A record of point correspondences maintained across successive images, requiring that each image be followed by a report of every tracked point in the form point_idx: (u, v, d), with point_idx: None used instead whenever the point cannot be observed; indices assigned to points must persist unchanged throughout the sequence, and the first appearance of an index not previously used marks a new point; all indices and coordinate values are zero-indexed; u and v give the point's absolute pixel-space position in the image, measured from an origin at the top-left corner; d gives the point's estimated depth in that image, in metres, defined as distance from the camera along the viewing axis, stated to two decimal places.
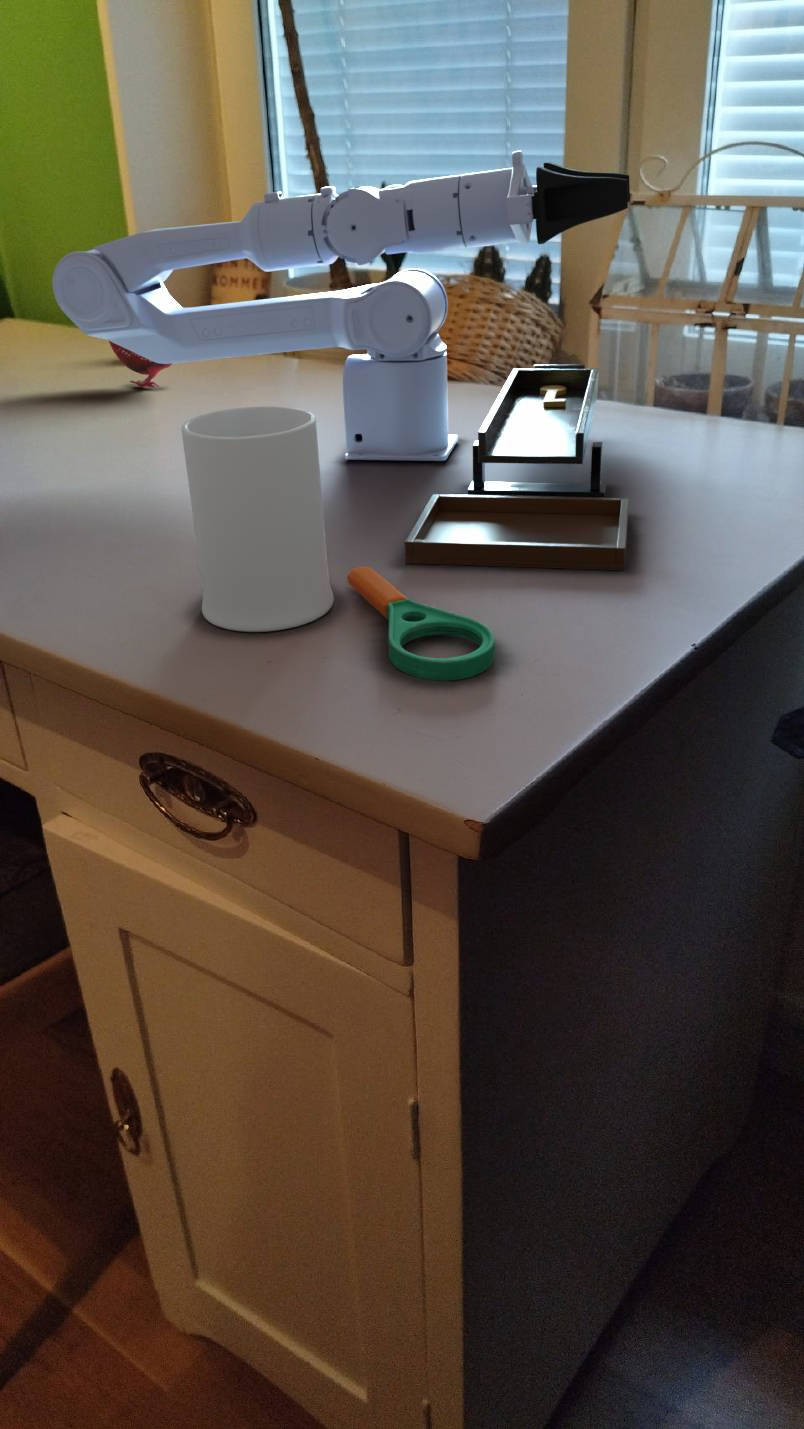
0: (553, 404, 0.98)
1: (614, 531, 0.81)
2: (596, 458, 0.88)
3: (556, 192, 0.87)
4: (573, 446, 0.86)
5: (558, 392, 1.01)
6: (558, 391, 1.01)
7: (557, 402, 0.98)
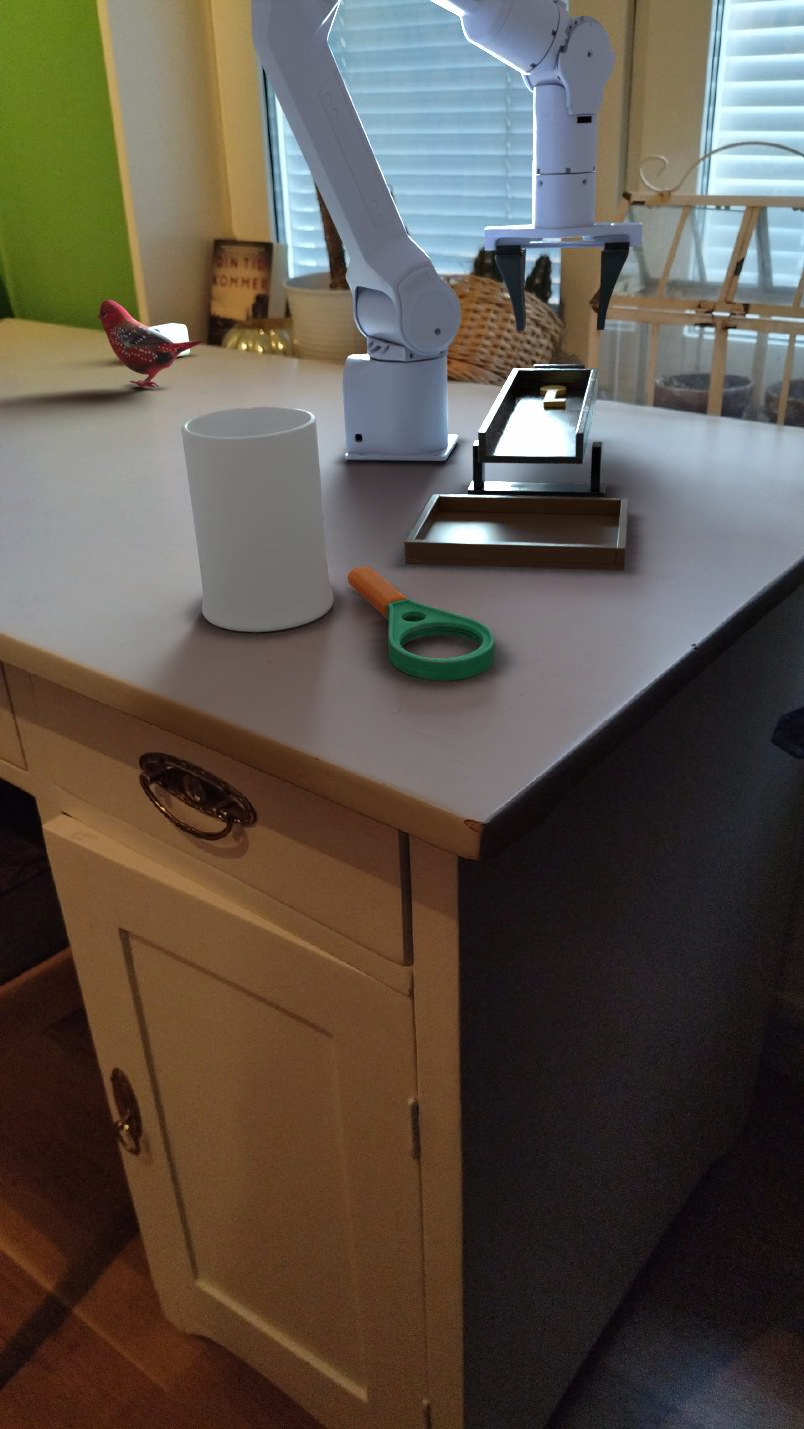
0: (553, 404, 0.98)
1: (614, 531, 0.81)
2: (596, 458, 0.88)
3: None
4: (573, 446, 0.86)
5: (558, 392, 1.01)
6: (558, 391, 1.01)
7: (557, 402, 0.98)
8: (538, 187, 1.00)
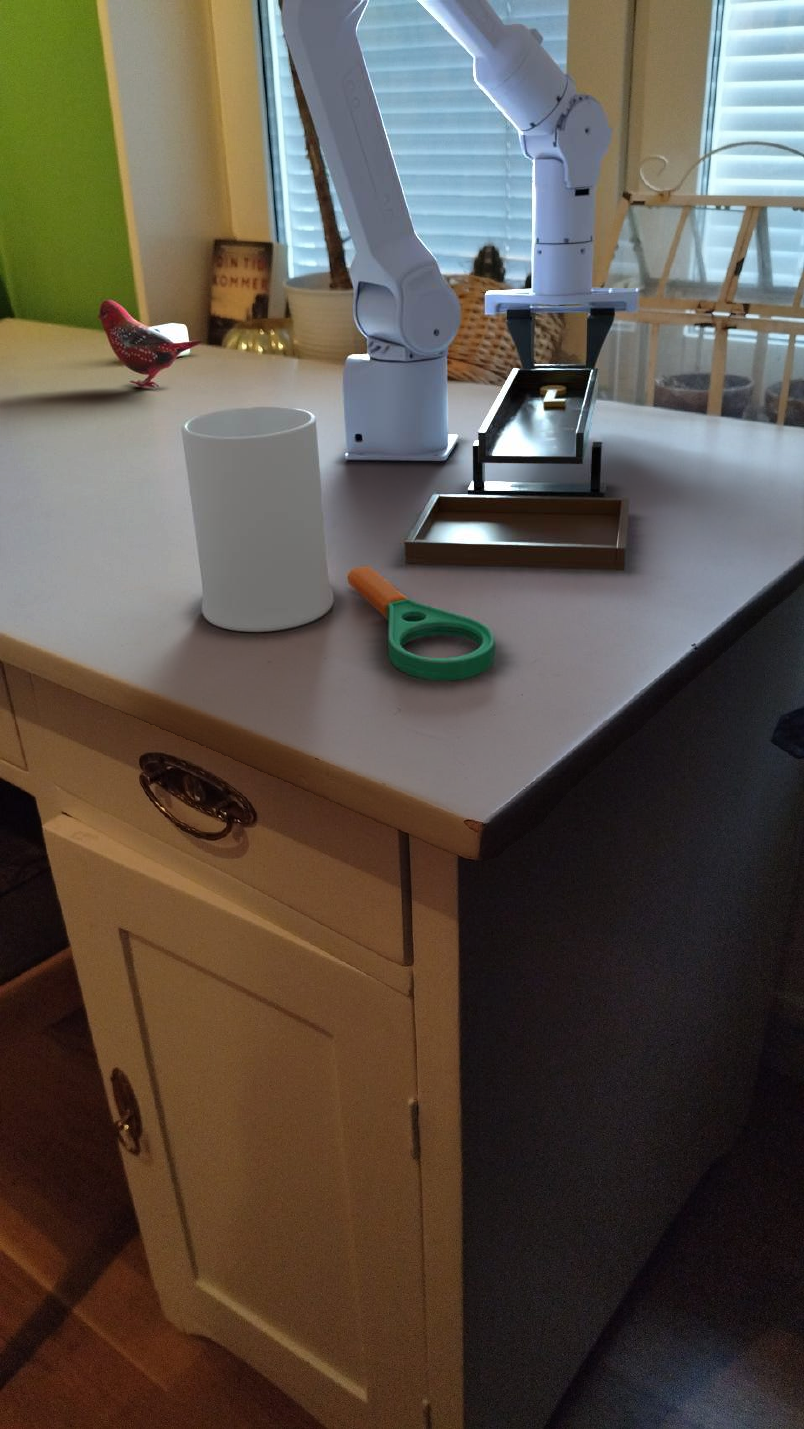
0: (553, 404, 0.98)
1: (614, 531, 0.81)
2: (596, 458, 0.88)
3: None
4: (573, 446, 0.86)
5: (558, 392, 1.01)
6: (558, 391, 1.01)
7: (557, 402, 0.98)
8: (537, 255, 1.02)
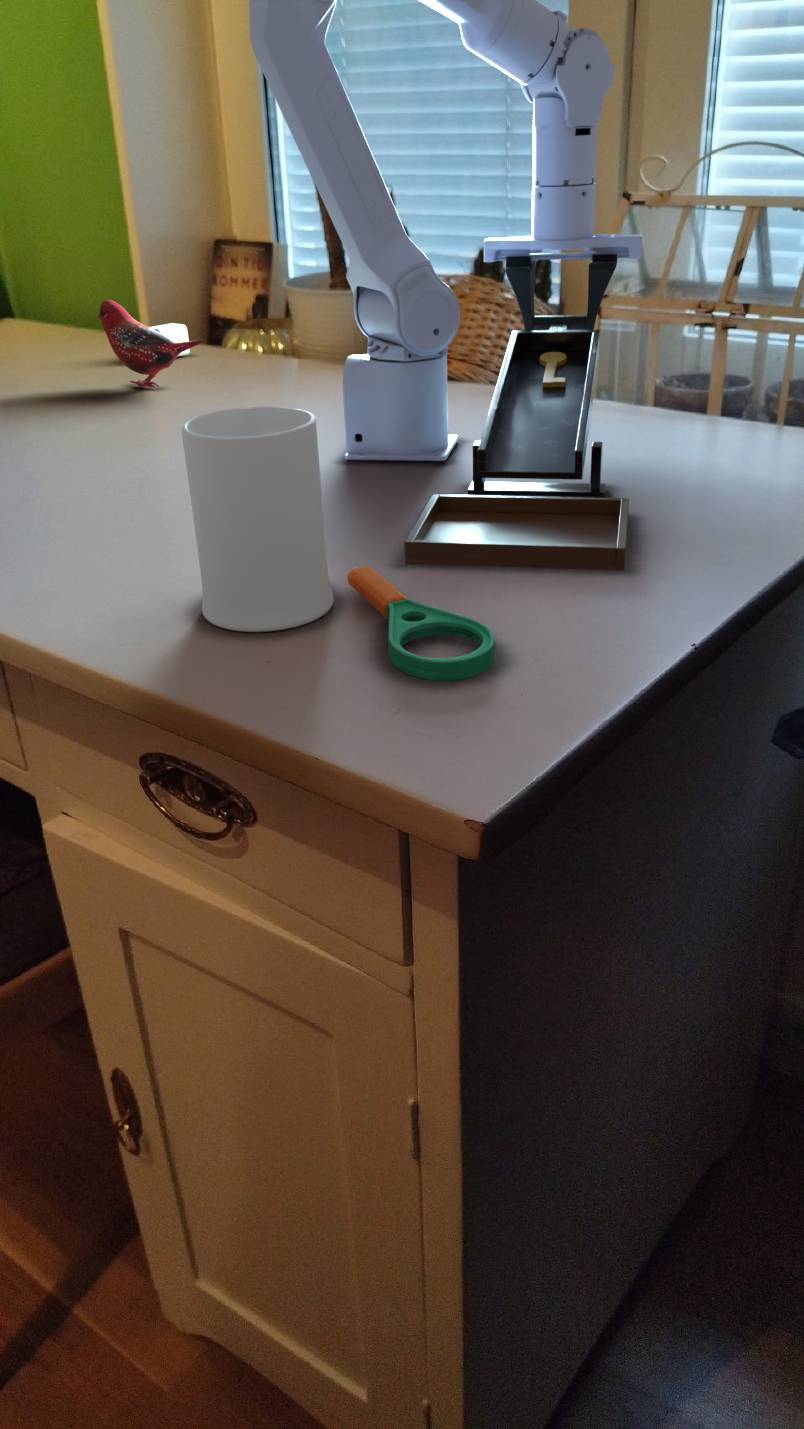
0: (553, 385, 0.96)
1: (614, 531, 0.81)
2: (596, 458, 0.88)
3: None
4: (573, 454, 0.86)
5: (558, 363, 0.99)
6: (558, 362, 0.99)
7: (557, 383, 0.96)
8: (537, 199, 0.99)
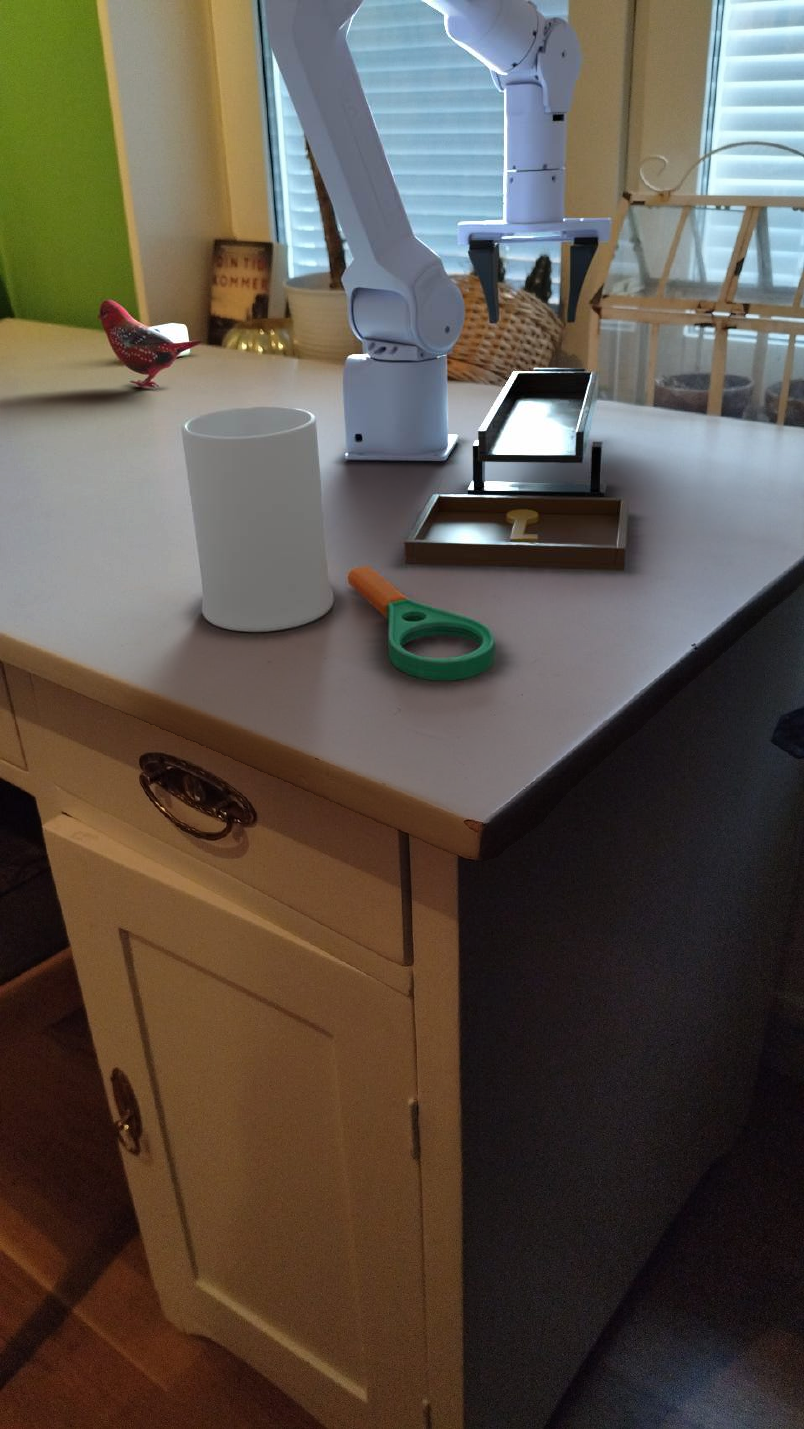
0: (522, 542, 0.79)
1: (614, 531, 0.81)
2: (596, 458, 0.88)
3: None
4: (573, 445, 0.86)
5: (528, 521, 0.82)
6: (528, 519, 0.82)
7: (527, 539, 0.79)
8: (509, 183, 1.03)
